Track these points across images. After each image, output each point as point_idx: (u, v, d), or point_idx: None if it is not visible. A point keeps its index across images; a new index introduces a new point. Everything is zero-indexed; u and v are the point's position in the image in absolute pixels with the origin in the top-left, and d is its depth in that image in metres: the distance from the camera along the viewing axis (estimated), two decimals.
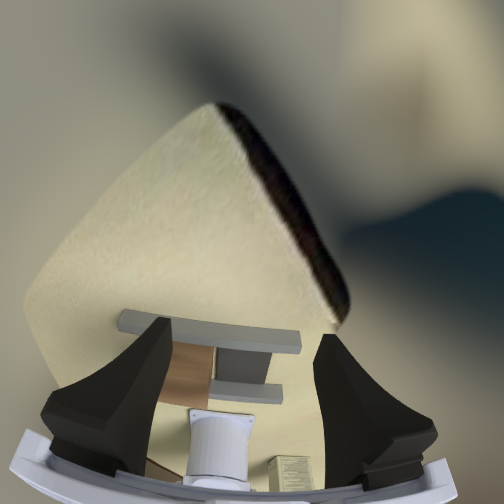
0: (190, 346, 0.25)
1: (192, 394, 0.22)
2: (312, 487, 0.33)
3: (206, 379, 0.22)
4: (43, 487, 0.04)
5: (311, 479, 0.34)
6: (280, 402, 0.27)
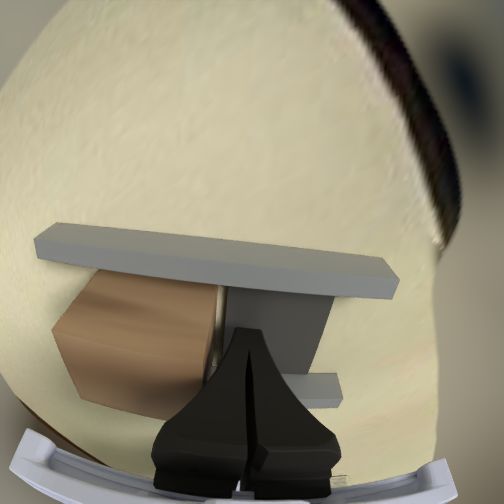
0: (169, 292, 0.12)
1: (170, 394, 0.10)
2: None
3: (199, 358, 0.09)
4: (43, 487, 0.04)
5: None
6: (337, 404, 0.15)
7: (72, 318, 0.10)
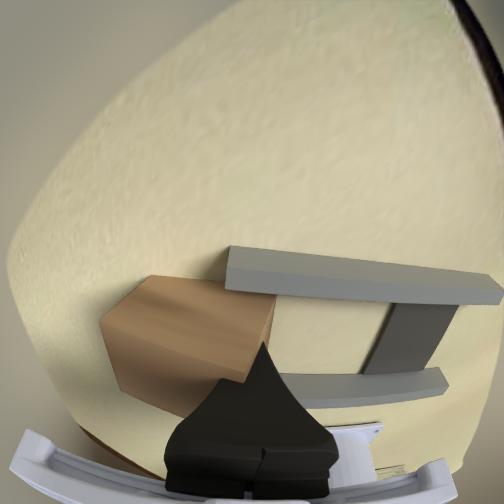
0: (225, 298, 0.12)
1: None
2: None
3: (242, 368, 0.09)
4: (43, 487, 0.04)
5: None
6: (443, 391, 0.15)
7: (122, 313, 0.11)
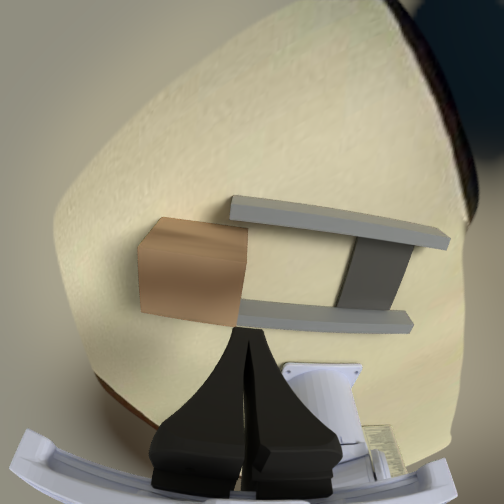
0: (216, 230, 0.19)
1: (218, 294, 0.16)
2: (401, 458, 0.27)
3: (244, 260, 0.15)
4: (43, 487, 0.04)
5: (398, 449, 0.28)
6: (409, 330, 0.21)
7: (152, 241, 0.16)
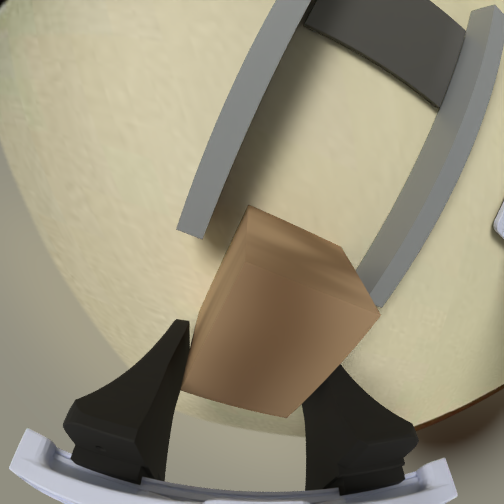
0: (227, 258, 0.11)
1: (298, 324, 0.08)
2: None
3: (242, 262, 0.07)
4: (43, 487, 0.04)
5: None
6: (503, 15, 0.05)
7: (188, 364, 0.10)
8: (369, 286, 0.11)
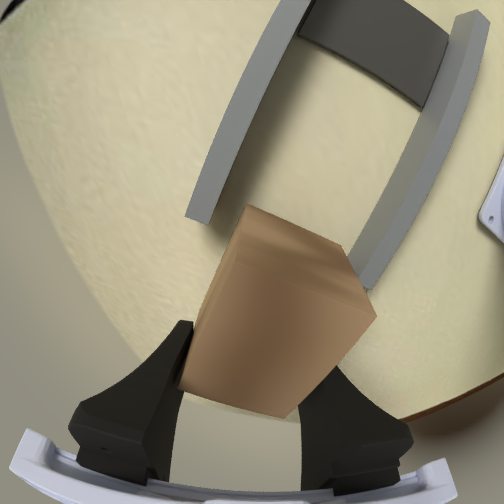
0: (224, 257, 0.11)
1: (291, 325, 0.08)
2: None
3: (233, 262, 0.07)
4: (43, 487, 0.04)
5: None
6: (485, 19, 0.06)
7: (185, 363, 0.10)
8: (359, 270, 0.13)
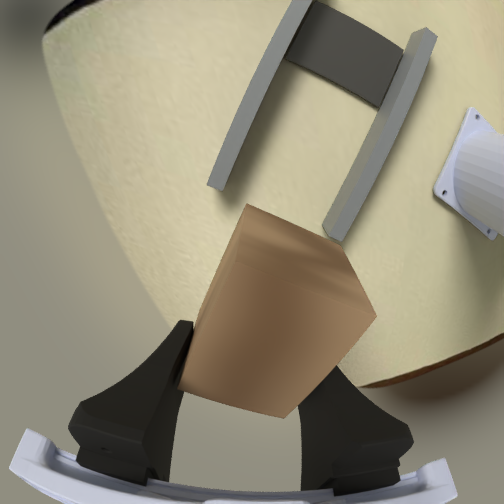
0: (224, 257, 0.11)
1: (291, 325, 0.08)
2: None
3: (233, 262, 0.07)
4: (43, 487, 0.04)
5: None
6: (433, 34, 0.11)
7: (185, 363, 0.10)
8: (331, 226, 0.18)
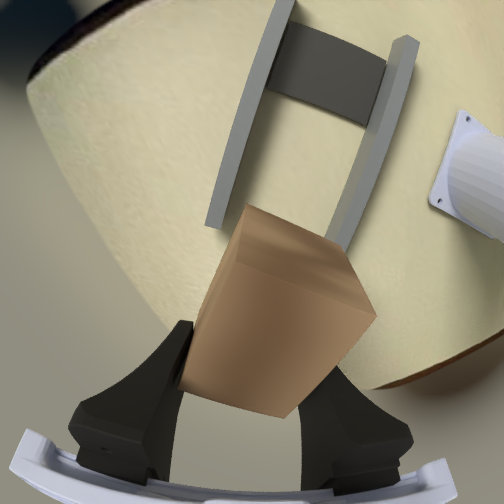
0: (224, 257, 0.11)
1: (292, 325, 0.08)
2: None
3: (233, 262, 0.07)
4: (43, 487, 0.04)
5: None
6: (415, 41, 0.12)
7: (185, 363, 0.10)
8: None
